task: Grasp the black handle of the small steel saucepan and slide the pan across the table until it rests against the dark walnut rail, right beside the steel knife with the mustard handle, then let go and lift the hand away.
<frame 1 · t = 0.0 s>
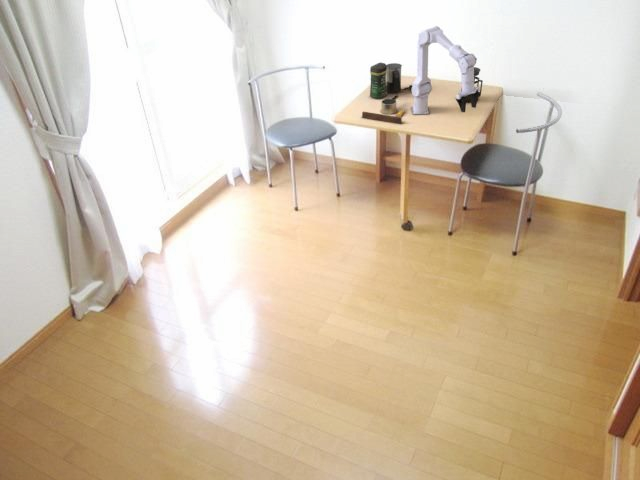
hand: (468, 109, 251), 11 cm above the table, tool pointing down, fingers open, 7 cm apart
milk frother: (400, 90, 304), on the table
french press: (469, 100, 286), on the table
walnut rail: (381, 120, 272), on the table
coffee jar: (378, 96, 299), on the table
knife: (398, 116, 275), on the table
steel pot: (388, 111, 281), on the table
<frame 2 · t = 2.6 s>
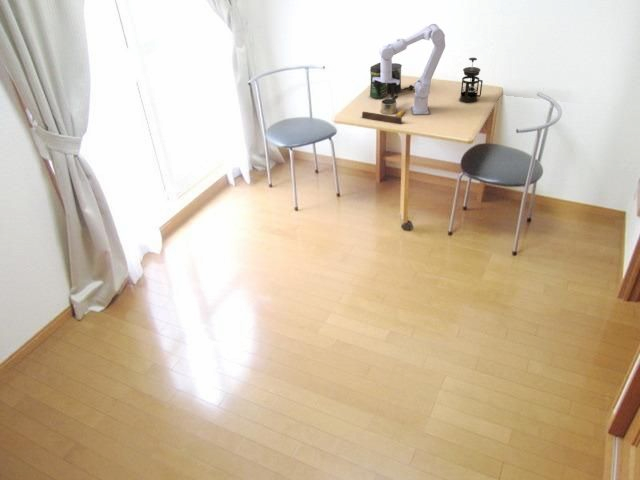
hand: (385, 96, 272), 10 cm above the table, tool pointing down, fingers open, 7 cm apart
nothing on the table moved.
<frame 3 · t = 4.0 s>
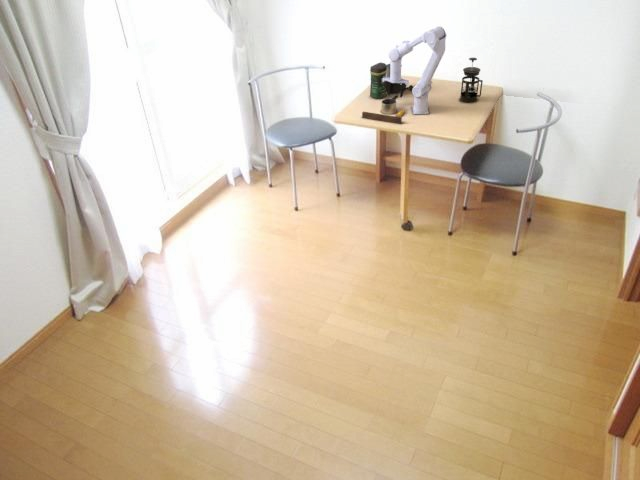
hand: (395, 95, 283), 6 cm above the table, tool pointing down, fingers open, 7 cm apart
nothing on the table moved.
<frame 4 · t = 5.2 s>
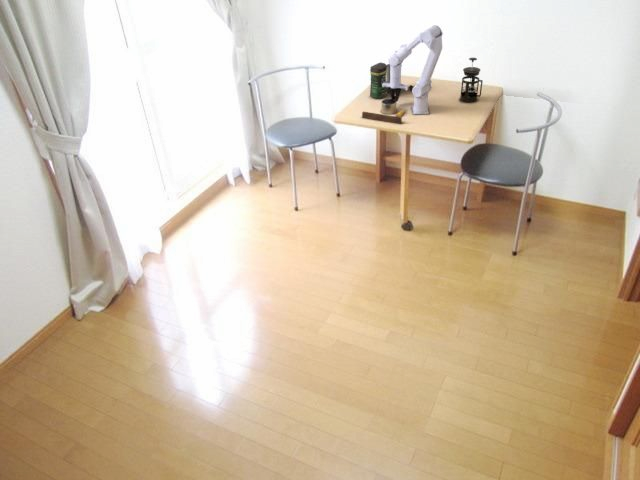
hand: (394, 100, 285), 3 cm above the table, tool pointing down, fingers closed on steel pot
steel pot: (388, 111, 281), on the table, touching gripper
everything else where it was.
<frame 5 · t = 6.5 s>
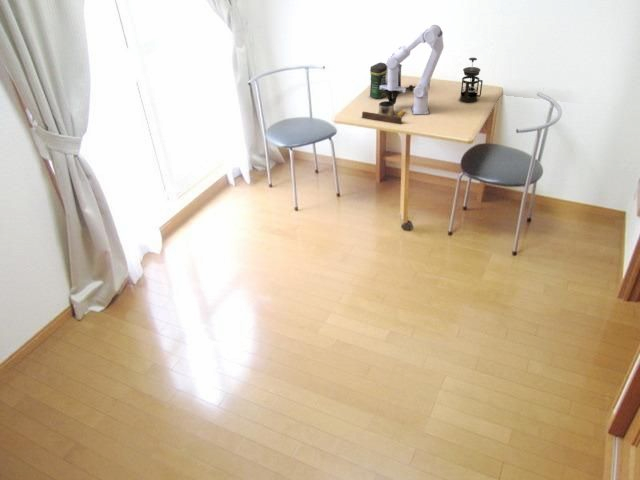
hand: (392, 103, 283), 3 cm above the table, tool pointing down, fingers closed on steel pot
steel pot: (386, 113, 279), on the table, touching gripper
everything else where it was.
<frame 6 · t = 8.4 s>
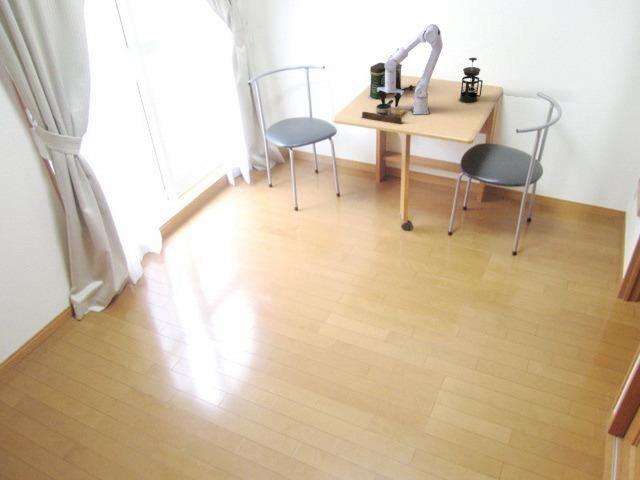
hand: (390, 105, 280), 3 cm above the table, tool pointing down, fingers open, 7 cm apart
steel pot: (383, 116, 276), on the table
everything else where it was.
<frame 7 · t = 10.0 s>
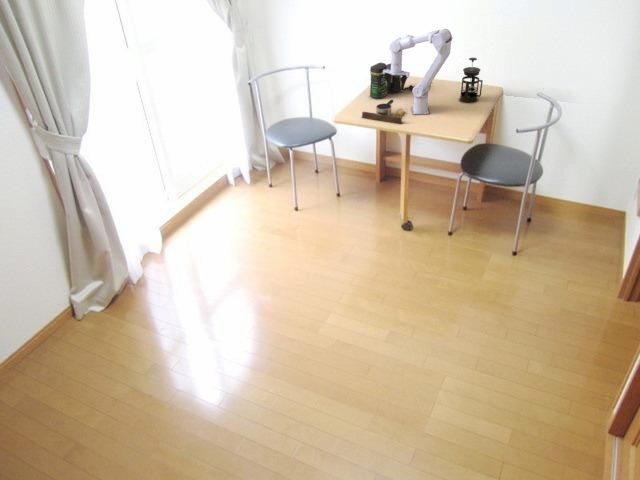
hand: (395, 88, 279), 10 cm above the table, tool pointing down, fingers open, 7 cm apart
nothing on the table moved.
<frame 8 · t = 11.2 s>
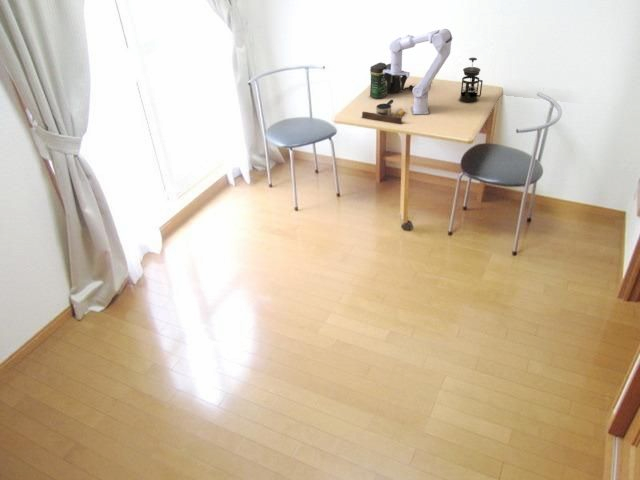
hand: (395, 88, 279), 10 cm above the table, tool pointing down, fingers open, 7 cm apart
nothing on the table moved.
at the end: steel pot 0.2 cm from the target spot, on the table; steel pot tilted 0°; the gripper is holding nothing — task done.
